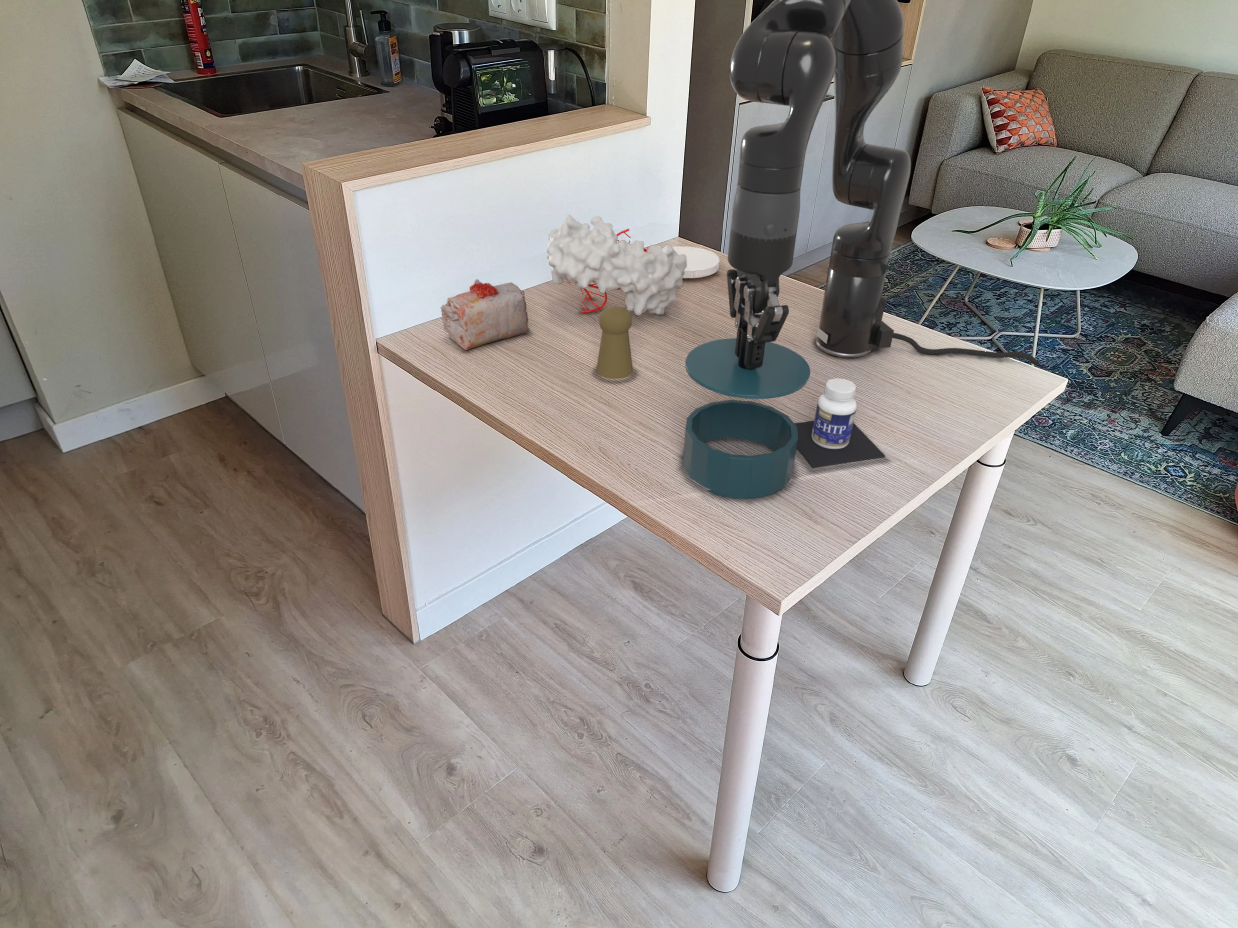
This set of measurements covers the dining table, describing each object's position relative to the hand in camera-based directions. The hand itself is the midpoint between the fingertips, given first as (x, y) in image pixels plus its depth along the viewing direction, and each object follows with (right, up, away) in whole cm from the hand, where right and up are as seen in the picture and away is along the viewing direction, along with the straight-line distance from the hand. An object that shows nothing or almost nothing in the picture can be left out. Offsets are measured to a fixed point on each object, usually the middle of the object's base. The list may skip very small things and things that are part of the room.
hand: (748, 360), depth 106 cm
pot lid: (0, -1, +1) cm, 1 cm away
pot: (0, -13, +9) cm, 16 cm away
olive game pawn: (-17, +2, +31) cm, 35 cm away
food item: (-39, +9, +41) cm, 57 cm away
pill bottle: (+14, -10, +14) cm, 22 cm away
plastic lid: (-3, +27, +68) cm, 74 cm away
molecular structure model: (-18, +16, +51) cm, 56 cm away
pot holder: (+14, -10, +14) cm, 22 cm away
